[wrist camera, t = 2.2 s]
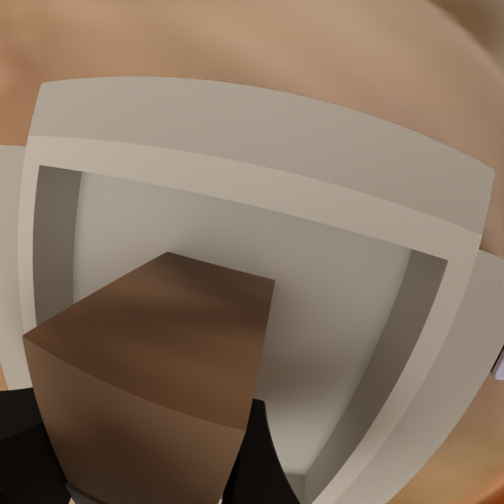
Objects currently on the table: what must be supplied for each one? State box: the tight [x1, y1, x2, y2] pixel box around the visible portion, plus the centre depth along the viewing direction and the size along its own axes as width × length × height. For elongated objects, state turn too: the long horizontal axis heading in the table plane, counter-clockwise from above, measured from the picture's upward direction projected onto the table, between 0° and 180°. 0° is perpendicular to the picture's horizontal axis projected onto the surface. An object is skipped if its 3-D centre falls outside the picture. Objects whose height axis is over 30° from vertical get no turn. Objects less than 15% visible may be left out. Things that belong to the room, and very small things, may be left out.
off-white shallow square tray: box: [0, 76, 504, 504], centre depth 10 cm, size 21×19×3 cm
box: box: [22, 252, 275, 504], centre depth 8 cm, size 4×8×7 cm, turn 167°
